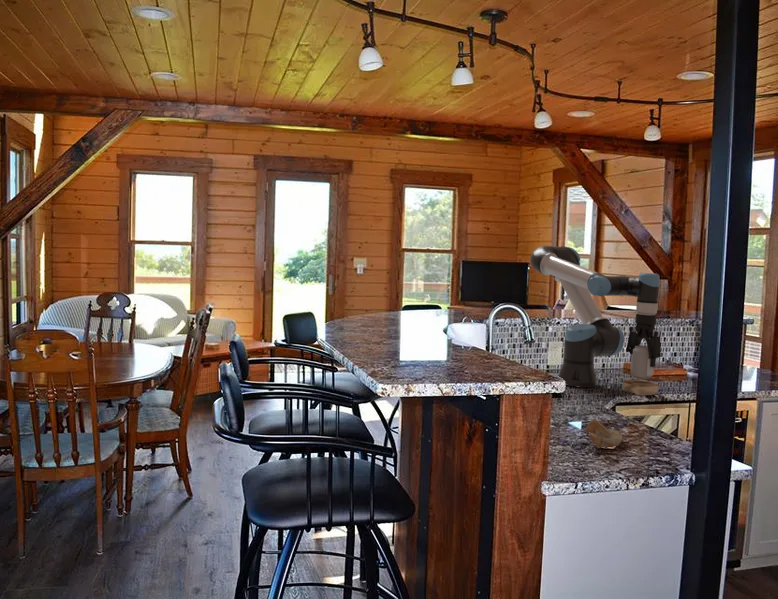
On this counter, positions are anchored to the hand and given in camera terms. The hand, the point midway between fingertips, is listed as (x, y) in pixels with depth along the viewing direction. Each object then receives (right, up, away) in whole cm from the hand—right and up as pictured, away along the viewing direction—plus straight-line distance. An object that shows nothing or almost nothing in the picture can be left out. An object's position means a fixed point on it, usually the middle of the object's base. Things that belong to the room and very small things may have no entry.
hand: (641, 373), depth 269 cm
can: (0, -2, 0) cm, 2 cm away
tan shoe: (-36, -13, -73) cm, 83 cm away
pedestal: (0, -7, +1) cm, 7 cm away
